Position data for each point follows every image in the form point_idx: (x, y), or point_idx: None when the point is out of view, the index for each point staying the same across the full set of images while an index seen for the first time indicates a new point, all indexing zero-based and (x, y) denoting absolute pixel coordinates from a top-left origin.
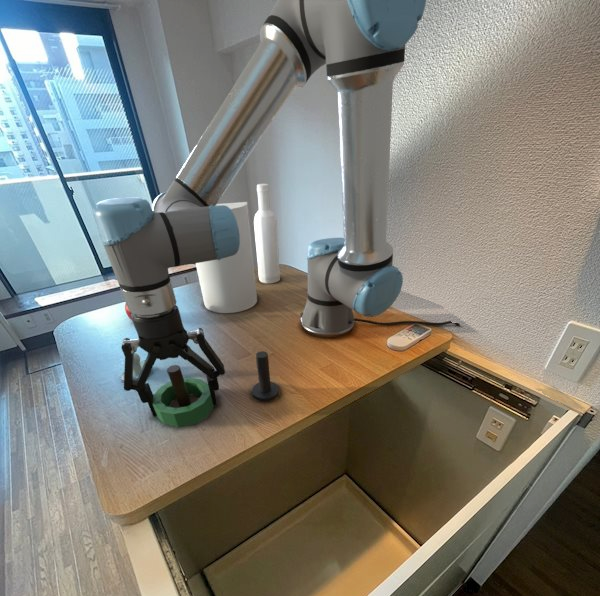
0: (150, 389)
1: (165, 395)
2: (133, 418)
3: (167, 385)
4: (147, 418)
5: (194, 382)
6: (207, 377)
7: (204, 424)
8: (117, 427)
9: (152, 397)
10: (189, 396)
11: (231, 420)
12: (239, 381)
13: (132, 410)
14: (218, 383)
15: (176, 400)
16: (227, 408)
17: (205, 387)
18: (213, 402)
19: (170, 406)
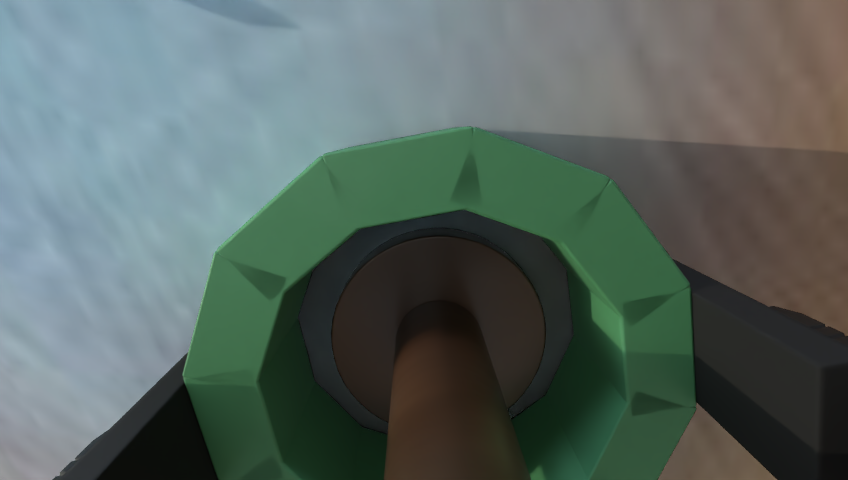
0: (141, 446)
1: (282, 323)
2: (108, 395)
3: (273, 251)
4: None
5: (543, 231)
6: (824, 449)
7: None
8: (43, 461)
9: (192, 436)
10: (460, 260)
11: (731, 458)
12: (842, 45)
13: (62, 320)
14: (805, 315)
15: (366, 296)
16: None
17: (654, 318)
18: None
19: (337, 357)
